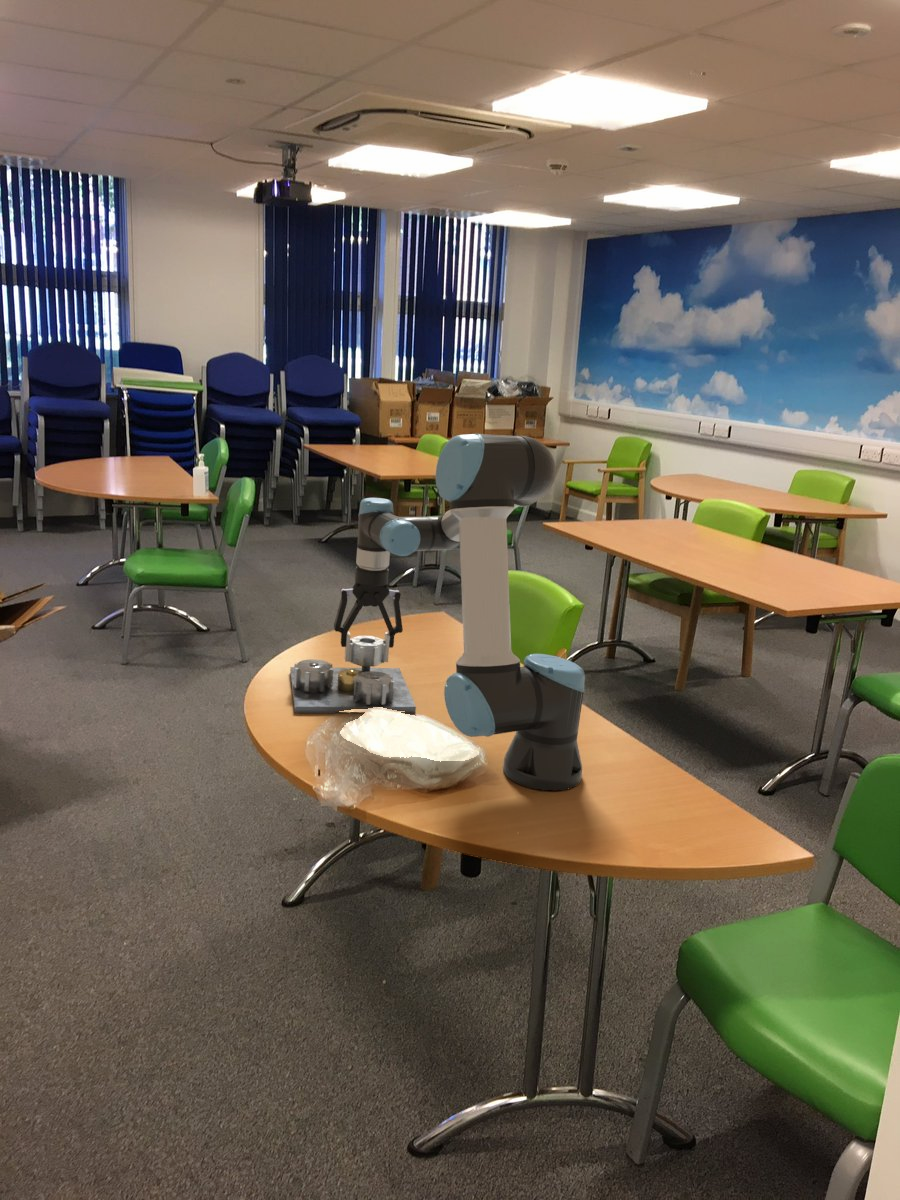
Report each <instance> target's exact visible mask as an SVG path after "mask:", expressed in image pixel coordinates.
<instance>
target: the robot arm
mask: <svg viewBox="0 0 900 1200" xmlns="http://www.w3.org/2000/svg"><path fill="white" fill-rule="evenodd" d="M554 459H555V458H554V456H553V454H552V453H551V451H550V449H549V448H548V447H547V446H546V445H544V443H542V442H541V441H539V440H538V439H536V438H533V437H530V436H526V435H504V434H489V433H488V434H486V433H472V434H471V433H470V434H457V435H455V436H452V437H451V438H450V439H449V440H448V441H447V442H445V444H444V446H443V447H442V450H441V452H440V454H439V455H438V459H437V463H436V468H435V486H436V489H437V490H438V494H439V496H440V498H442V499H444V500H445V501H447V502H449V510H447V511H446V512H444V513H443V514H442V515H435V516H397V515H394V514H395V513H394V512H395V511H394V503H393V501H391V500H390V499H387V498H383V497H382V498H381V497H367V498H366V497H365V498H363V499H361V501H360V503H359V510H358V511H359V512H358V516H357V517H358V523H357V524H358V525H357V526H358V527H357V545H356V547H357V548H356V559H355V560H356V561H355V563H356V567H355V576H354V584H353V586H352V588H345V587H341V588H340V600H339V601H340V602H339V605H338V608H337V612H336V616H335V619H334V624H333V628H334V632H337V633H340V645H341V647H342V648H344V657H343V658H344V660H345V661H344V662H345V663H346V662H347V663H350V662H349V649H350V639H351V633H350V629H351V627H352V626H353V623H354V622H355V621H356V618H357V616H358V615H359V612H360V611H361V610H362V609H363V607H373V608H374V607H375V608H377V607H378V608H379V610H380V613H381V615H382V618H383V621H384V623H385V627H386V628H387V631H385V632H384V640H385V642H384V644H386V652H385V662H384V663H388V662H389V654H390V649H392V648H393V647H394V645H395V644H394V643H395V636H396V635H397V634H401V633H402V632H403V621H402V615H401V605H400V600H401V596H402V593H401V592H400V590H399V589H395V590H394V589H393V590H392V589H389V586H388V583H389V571H390V569H389V568H388V567H389V566H390V557H391V556H390V555H391V554H393V555H395V556H399V557H407V556H410V555H411V554H413V553H414V552H425V551H458V550H459V554H460V555H459V560H460V562H459V563H460V584H461V586H460V587H461V609H462V613H461V614H462V634H463V635H462V637H463V640H462V641H463V653H462V655H461V656H460V657H459V658H458V659H457V661H455V664H456V667H455V668H456V672H454V673H452V674H451V675H449V676H448V677H447V679H446V680H445V685H444V690H443V692H444V694H443V695H444V703H445V706H446V710H447V714H448V716H449V718H450V720H451V722H452V724H453V725H454V727H455V728H456V729H457V730H458V731H459V732H460V733H462V735H465V736H467V737H472V738H474V737H477V738H478V737H486V738H487V737H489V738H490V737H492V736H493V735H499V734H500V735H501V734H507V733H514V732H515V735H514V737H513V738H512V740H511V742H510V744H509V747H508V749H507V751H506V753H505V755H504V759H503V766H502V767H503V768H502V769H503V773H504V775H505V776H506V777H507V778H508V779H509V780H511V781H512V782H514V783H516V784H518V785H520V786H523V787H525V788H528V787H529V788H528V789H532V788H533V790H537V789H541V790H540V791H544V790H561V791H565V789H567V790H569V789H568V788H570V789H573V788H575V787H577V784H578V783H579V782H580V783H581V781H582V775H583V763H582V760H581V755H580V750H579V745H578V734H579V727H580V719H581V713H582V706H583V700H584V693H585V691H586V690H585V679H586V675H585V671H584V670H583V668H582V667H580V665H578V664H577V663H575V662H573V661H572V660H568V659H567V658H563V657H559V656H556V655H551V654H545V653H530V654H528V655H527V656H525V657H524V660H523V666H521V659H520V658H519V657H518V656H517V655H516V654H514V653H513V651H512V642H511V641H512V638H511V633H512V631H511V610H510V609H511V608H510V606H511V605H510V582H509V579H510V578H509V557H508V556H509V554H508V553H509V552H508V528H507V527H508V525H507V519H508V517H509V515H510V514H511V513H512V512H513V511H514V510H515V509H516V508H519V507H524V508H525V507H529V506H532V505H533V504H534V503H536V502H538V501H539V500H541V499H542V498H543V497H545V496H546V495H547V494H548V493H549V491H550V490H551V489H552V488H553V485H554V483H555V479H556V474H557V473H556V472H557V467H556V462H555V460H554ZM352 595H353V596H354V597H355V598H356V600H355V602H354V605H353V607H352V608H351V610H350V612H349V613H348V615H347V616H346V619H345V621H344V623H343V620H344V619H343V618H344V615H345V612H346V608H347V605H348V600H349V599H350V598H351V596H352ZM388 596H389V597H390V599H391V600H392V607H393V608H392V609H393V615H394V620H395V626H393V624H392V622H391V620H390V617H389V615H388V612H387V610H386V608H385V605H384V601H385V600H386V598H387V597H388ZM342 623H343V624H342ZM580 783H579V784H580ZM579 784H578V785H579ZM574 786H575V787H574ZM572 787H573V788H572Z"/></svg>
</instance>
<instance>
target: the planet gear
mask: <svg viewBox="0 0 900 1200" xmlns="http://www.w3.org/2000/svg"><path fill="white" fill-rule="evenodd" d="M384 642H385V639H384V638H380V637H377V636H373V635H357V636H354V637H352V638H351V637H350V649H349V662H348V663H351V664H354V665H357V666H358V667H362V666H370V667H376V666H379V665H382V664H384V663H386V662H385V652H386V644H384Z"/></svg>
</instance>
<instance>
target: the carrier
mask: <svg viewBox="0 0 900 1200" xmlns="http://www.w3.org/2000/svg"><path fill="white" fill-rule="evenodd" d="M289 675H290V681H291V682H290V683H291V684H290V685H291V692H292V698H293V699H292V701H293V708H294V709H293V710H294V714H336V713H335V712H339V711H344V710H351V709H368V708H373V707H383V708H387V709H392V710H397V711H405V712H408V713H407V714H416V711H417V706H416V704H415V702H414V699H413V696H412V694H411V693H410V689H409V687H408V685H407V683H406V680H405V678H404V676H403V674H402V672H401V669H400V668H398V667H397V668H396V667H371V666H361V667H333V664H332V663H331V662H330V663H329V662H328V661H326V660H321V659H315V658H314V659H303V660H301V661H299V662H295V663H294V665H293V666H291V667H290V671H289Z"/></svg>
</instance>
